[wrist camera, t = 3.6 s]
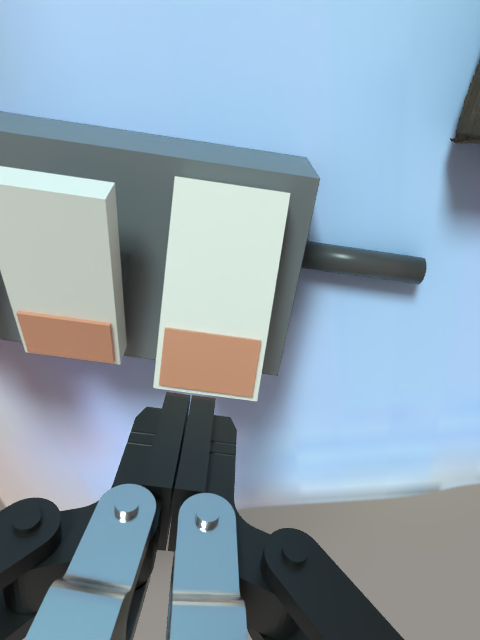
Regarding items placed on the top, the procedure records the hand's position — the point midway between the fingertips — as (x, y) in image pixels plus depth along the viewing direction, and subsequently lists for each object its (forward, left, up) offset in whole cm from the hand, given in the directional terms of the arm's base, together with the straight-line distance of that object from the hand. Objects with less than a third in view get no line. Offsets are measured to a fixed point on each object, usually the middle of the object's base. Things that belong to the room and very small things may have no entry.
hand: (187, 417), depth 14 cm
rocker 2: (0, -3, -4) cm, 4 cm away
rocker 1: (+5, -3, -4) cm, 7 cm away
